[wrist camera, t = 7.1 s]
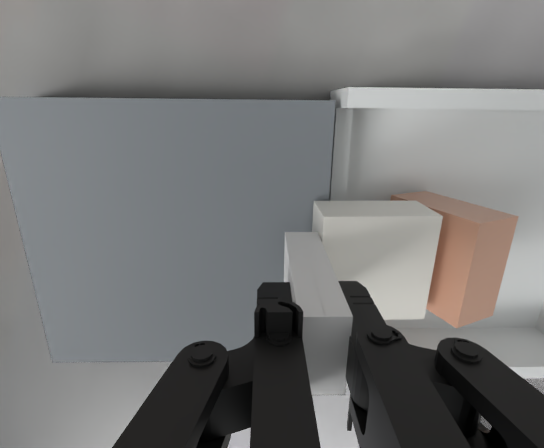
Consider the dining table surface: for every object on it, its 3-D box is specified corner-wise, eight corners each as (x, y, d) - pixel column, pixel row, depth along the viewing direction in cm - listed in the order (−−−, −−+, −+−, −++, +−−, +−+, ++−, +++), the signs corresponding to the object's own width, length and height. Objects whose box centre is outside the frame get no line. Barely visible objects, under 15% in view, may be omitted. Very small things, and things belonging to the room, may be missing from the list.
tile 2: (308, 293, 18) (317, 321, 16) (313, 200, 16) (323, 216, 14) (402, 291, 18) (424, 318, 16) (416, 200, 17) (443, 216, 14)
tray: (315, 334, 23) (326, 380, 19) (330, 90, 18) (348, 87, 14) (538, 333, 23) (592, 377, 19) (613, 94, 18) (705, 91, 14)
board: (79, 329, 22) (52, 362, 19) (31, 98, 18) (-14, 96, 15) (311, 328, 22) (318, 360, 20) (324, 101, 18) (335, 100, 15)
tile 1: (456, 328, 15) (492, 315, 16) (480, 223, 14) (518, 216, 15) (380, 279, 20) (412, 271, 21) (391, 194, 18) (425, 190, 19)
